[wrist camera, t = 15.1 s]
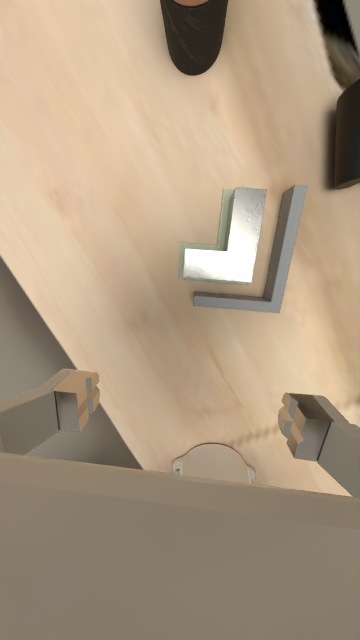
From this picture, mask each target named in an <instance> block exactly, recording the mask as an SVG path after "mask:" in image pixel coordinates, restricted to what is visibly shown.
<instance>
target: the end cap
mask: <svg viewBox="0 0 360 640" xmlns="http://www.w3.org/2000/svg"><path fill="white" fill-rule="evenodd" d="M357 183H360V79H359V80H358V81H356V82H355V83H353V84H352V85H351V86H350V87H348V88H347V89H346V90H345V91H344V92H343V93H342V94H341V96H340V97H339V99H338V101H337V114H336V144H335V174H334V188H336V189H342V188H348V187H351V186H353V185H355V184H357Z"/></svg>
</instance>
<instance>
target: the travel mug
mask: <svg viewBox="0 0 360 640" xmlns="http://www.w3.org/2000/svg"><path fill="white" fill-rule="evenodd" d="M160 3H161V9H162V15H163V20H164V26H165V32H166V38H167V44H168V49H169V53H170V56H171V59H172V61H173V63H174V64H175V66H176V67H177V68H178V69H179V70H180V71H181V72H183V73H185V74H188V75H198V74H201V73H203V72H205V71H206V70H208V69H209V68H210V67H211V66H212V65H213V63H214V62H215V60H216V58H217V56H218V54H219V51H220V48H221V43H222V37H223V31H224V25H225V18H226V11H227V4H228V0H160Z"/></svg>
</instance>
